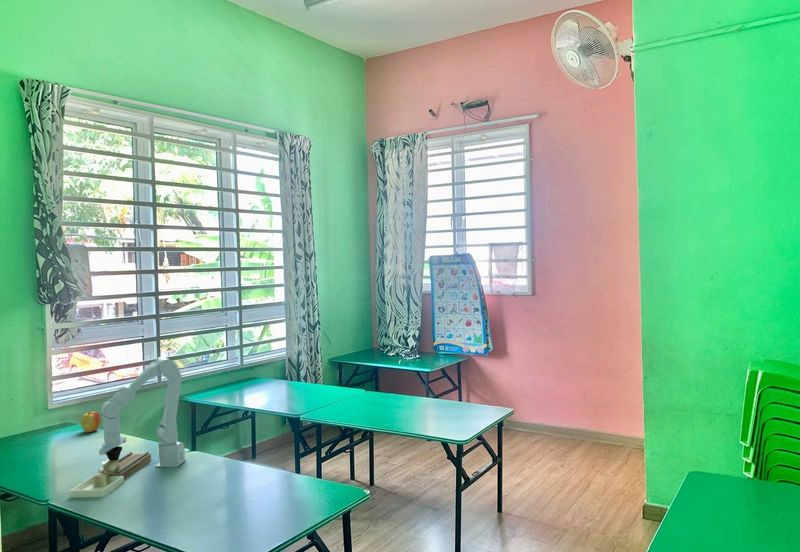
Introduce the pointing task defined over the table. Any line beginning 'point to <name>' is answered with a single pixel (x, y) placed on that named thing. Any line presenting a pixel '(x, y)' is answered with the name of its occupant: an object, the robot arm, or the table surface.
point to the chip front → (100, 479)
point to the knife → (102, 468)
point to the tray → (96, 488)
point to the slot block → (131, 464)
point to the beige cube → (111, 467)
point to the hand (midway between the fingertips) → (114, 466)
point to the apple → (90, 421)
